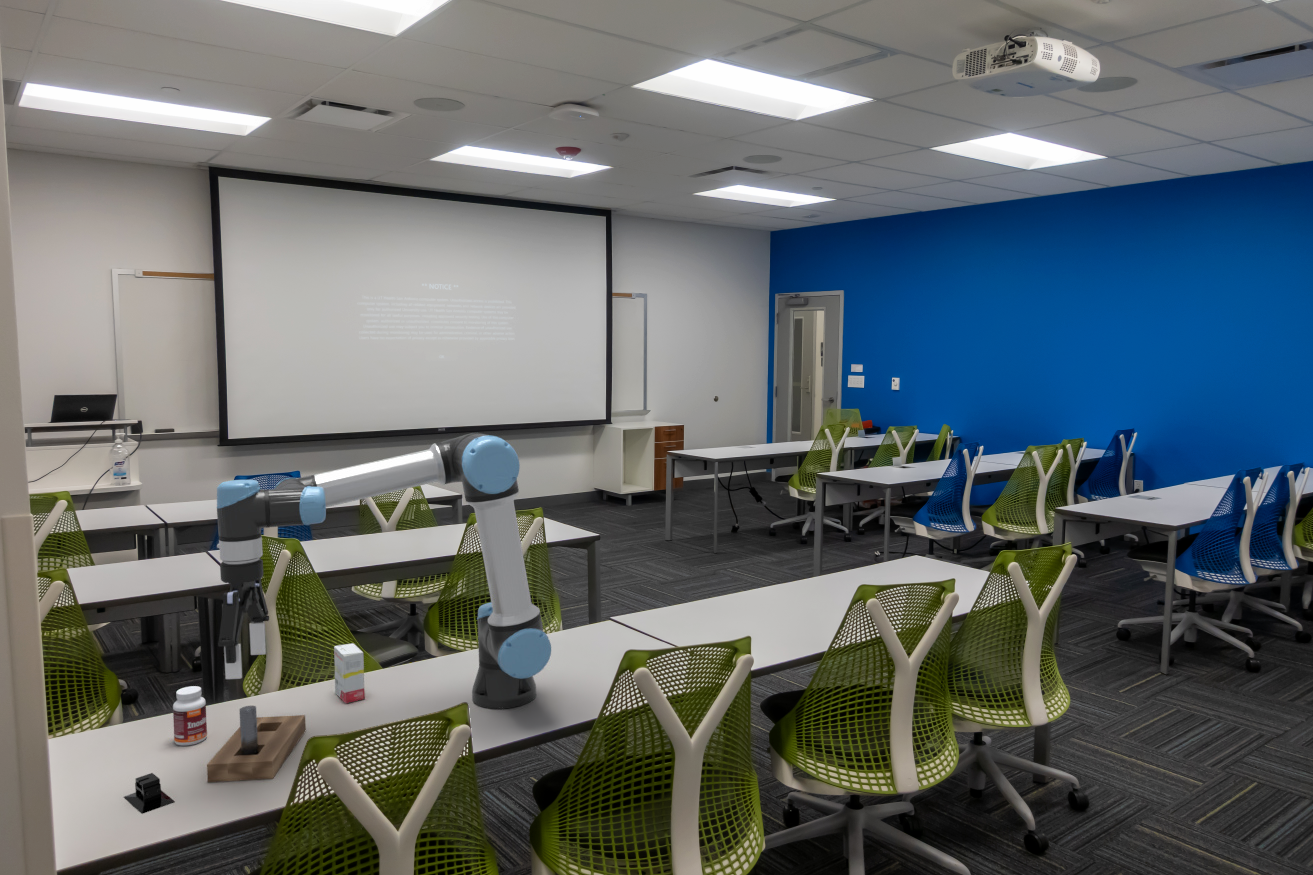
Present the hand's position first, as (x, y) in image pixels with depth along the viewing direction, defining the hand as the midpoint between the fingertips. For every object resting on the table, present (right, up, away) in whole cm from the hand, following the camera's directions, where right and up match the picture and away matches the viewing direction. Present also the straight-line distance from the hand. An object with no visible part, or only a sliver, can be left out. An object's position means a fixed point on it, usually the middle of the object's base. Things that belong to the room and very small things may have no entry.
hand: (246, 665), depth 170 cm
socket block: (-1, -20, +7) cm, 21 cm away
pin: (0, -21, +2) cm, 21 cm away
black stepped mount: (-13, -23, -11) cm, 28 cm away
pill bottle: (-19, -20, +14) cm, 31 cm away
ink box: (+7, -18, +38) cm, 42 cm away
